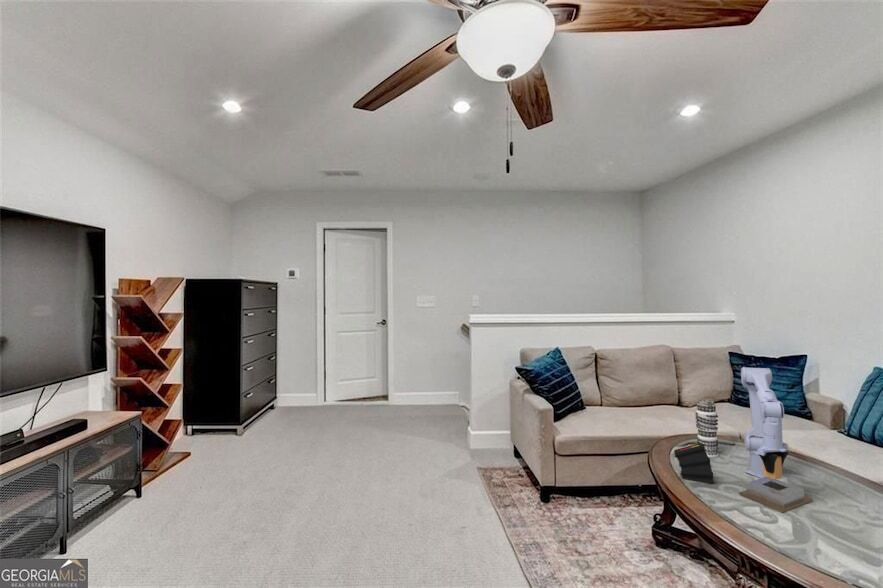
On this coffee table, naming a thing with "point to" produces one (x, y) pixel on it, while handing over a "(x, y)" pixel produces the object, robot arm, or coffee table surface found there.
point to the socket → (775, 494)
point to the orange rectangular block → (777, 470)
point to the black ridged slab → (694, 463)
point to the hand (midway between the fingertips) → (773, 471)
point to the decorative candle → (707, 426)
